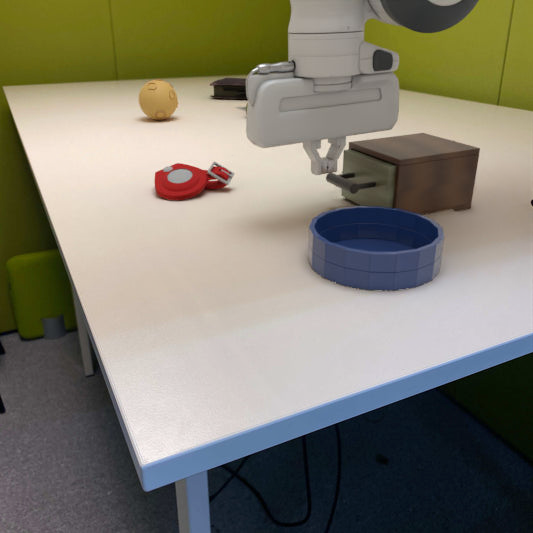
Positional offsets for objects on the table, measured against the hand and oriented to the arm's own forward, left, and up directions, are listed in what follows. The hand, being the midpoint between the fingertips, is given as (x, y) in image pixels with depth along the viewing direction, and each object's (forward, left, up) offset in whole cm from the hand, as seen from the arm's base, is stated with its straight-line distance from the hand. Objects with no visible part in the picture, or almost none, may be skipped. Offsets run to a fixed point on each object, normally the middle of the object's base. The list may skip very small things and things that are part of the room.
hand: (324, 172), depth 71 cm
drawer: (-11, -1, -6) cm, 13 cm away
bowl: (+2, +14, -7) cm, 16 cm away
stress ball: (-2, -84, -7) cm, 84 cm away
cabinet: (-15, -1, -7) cm, 16 cm away
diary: (-41, -109, -7) cm, 117 cm away
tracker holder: (+11, -21, -7) cm, 25 cm away
